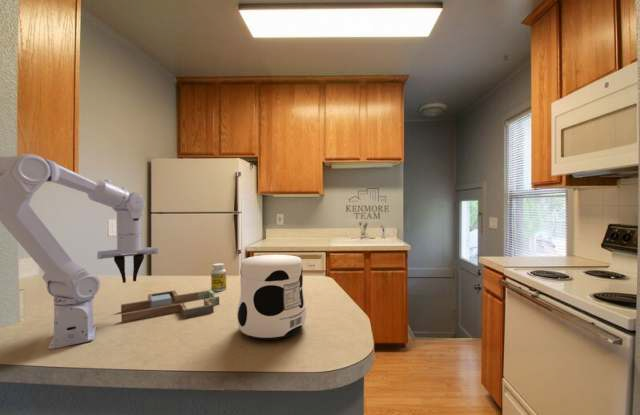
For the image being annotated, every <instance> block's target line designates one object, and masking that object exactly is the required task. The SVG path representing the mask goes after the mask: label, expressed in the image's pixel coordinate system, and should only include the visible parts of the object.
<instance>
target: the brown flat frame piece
mask: <svg viewBox="0 0 640 415" xmlns="http://www.w3.org/2000/svg"><path fill="white" fill-rule="evenodd" d="M165 294H169V295H170V296H171V300H172V301H173V302H174V304H171V305H168V306H162V307H156V308H151V297H152V296H158V295H165ZM202 299H203V305H200V306H196V307H191V308H187V307H186V305H185V303H186V302H190V301H195V300H196V301H197V300H202ZM184 302H185V303H184ZM216 305H220V297H219V295H218V294H216V293H215V291H212V289H207V290H202V291H195V292H190V293H189V292H188V293H185V294H184V293H183V294H178V293H177V291H176V290H169V291H162V292H155V293H150V294H147V299H146V300H141V301H134V302H128V303H121V304H120V313H121V323H122V322H124V323H128V322H127V321H129V322H133V321H132V320H134V321H138V320H137V319H139V320H144V319H143V318H145V319H150V318H154V317H158V316H165V315H171V314H175V313H180V314H181V315H182V317H183V319H188V318H189V319H190V318H194V317H199V316H203V315H208V314H212V313H214V306H216ZM149 317H150V318H149Z"/></svg>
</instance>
